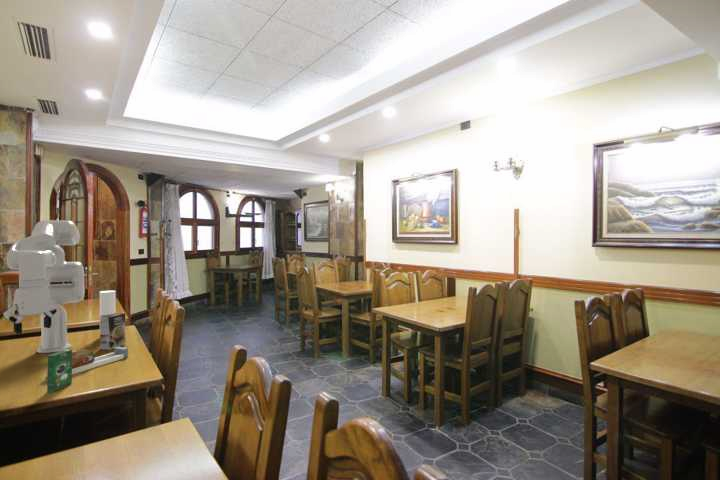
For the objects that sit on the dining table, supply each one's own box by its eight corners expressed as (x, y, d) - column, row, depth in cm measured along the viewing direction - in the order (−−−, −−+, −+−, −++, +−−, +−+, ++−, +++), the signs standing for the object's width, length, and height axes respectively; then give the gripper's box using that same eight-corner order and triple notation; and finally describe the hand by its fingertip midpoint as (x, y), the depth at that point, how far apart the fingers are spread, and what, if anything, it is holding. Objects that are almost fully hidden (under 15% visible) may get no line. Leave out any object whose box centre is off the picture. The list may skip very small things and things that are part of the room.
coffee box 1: (65, 383, 138) (65, 348, 137) (73, 383, 137) (72, 348, 137) (46, 392, 129) (46, 355, 129) (54, 392, 129) (54, 355, 129)
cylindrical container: (109, 339, 195) (109, 292, 195) (96, 339, 195) (96, 292, 195) (118, 335, 202) (118, 290, 202) (106, 335, 202) (105, 290, 202)
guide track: (47, 376, 144) (47, 366, 143) (118, 355, 169) (118, 346, 169) (57, 379, 141) (57, 369, 141) (127, 357, 167) (127, 348, 167)
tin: (50, 379, 141) (50, 357, 141) (47, 377, 143) (47, 356, 143) (95, 367, 154) (94, 347, 154) (91, 365, 156) (91, 346, 156)
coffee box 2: (110, 350, 176) (110, 317, 176) (99, 349, 178) (99, 316, 177) (126, 344, 185) (126, 313, 185) (115, 343, 187) (115, 312, 186)
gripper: (53, 280, 146) (54, 324, 146) (-3, 286, 130) (-3, 335, 130) (65, 281, 143) (65, 326, 143) (8, 287, 127) (9, 337, 127)
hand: (33, 330), depth 136 cm, fingers open, 8 cm apart
